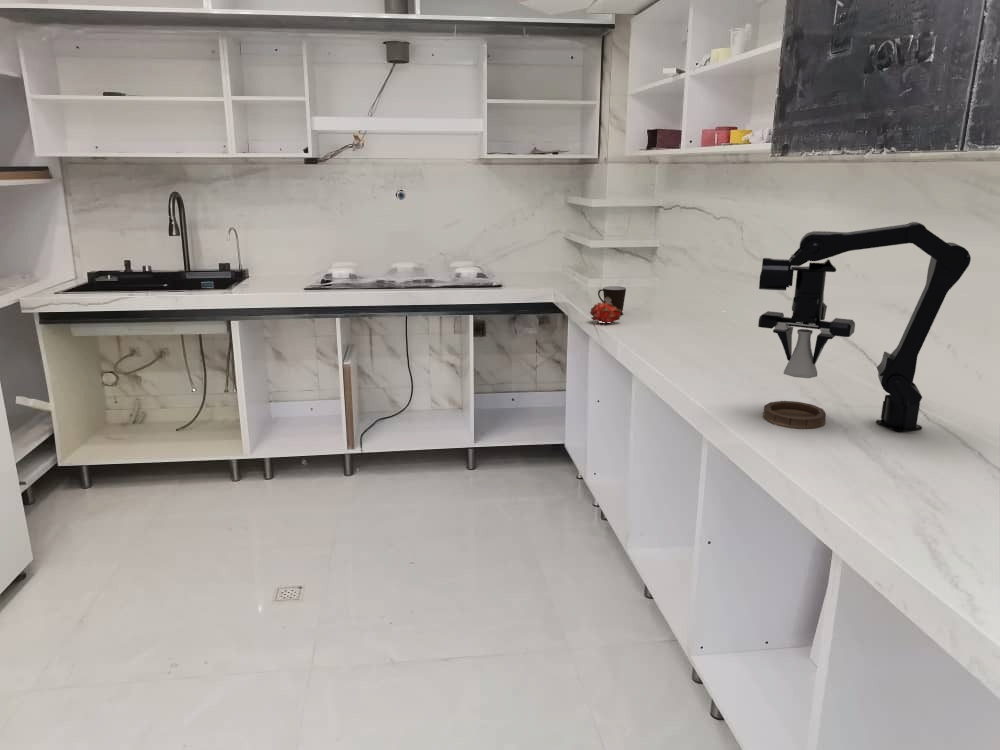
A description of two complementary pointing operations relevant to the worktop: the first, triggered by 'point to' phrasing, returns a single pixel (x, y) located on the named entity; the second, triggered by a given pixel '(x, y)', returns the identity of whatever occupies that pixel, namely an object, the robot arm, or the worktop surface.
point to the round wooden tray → (794, 414)
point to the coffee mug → (614, 296)
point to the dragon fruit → (605, 312)
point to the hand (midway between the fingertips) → (801, 362)
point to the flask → (802, 357)
